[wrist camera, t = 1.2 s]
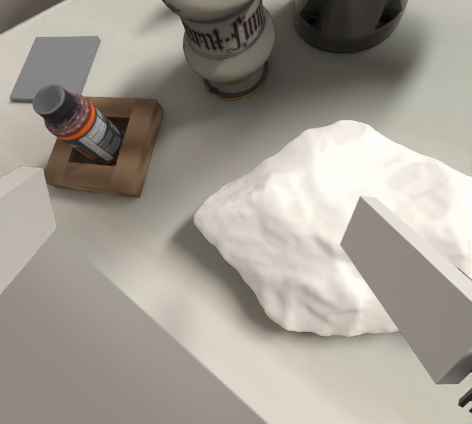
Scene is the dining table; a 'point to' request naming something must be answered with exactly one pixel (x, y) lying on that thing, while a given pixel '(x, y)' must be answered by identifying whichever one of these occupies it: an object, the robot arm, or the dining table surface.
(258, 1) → the apothecary jar
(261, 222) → the crumpled cloth
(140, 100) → the pocket block
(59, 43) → the mat
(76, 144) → the supplement bottle
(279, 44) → the dining table surface
